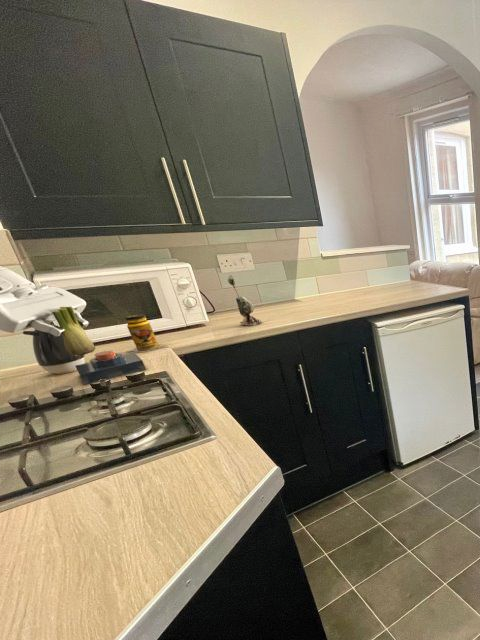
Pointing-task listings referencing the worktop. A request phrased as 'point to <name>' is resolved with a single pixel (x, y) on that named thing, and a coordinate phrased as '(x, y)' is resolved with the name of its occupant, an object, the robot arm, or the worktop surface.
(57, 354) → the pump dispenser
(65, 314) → the fennel bulb
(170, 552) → the worktop surface
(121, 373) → the blue jug base
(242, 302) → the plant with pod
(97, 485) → the worktop surface
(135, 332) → the condiment
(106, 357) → the jug button
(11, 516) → the worktop surface
